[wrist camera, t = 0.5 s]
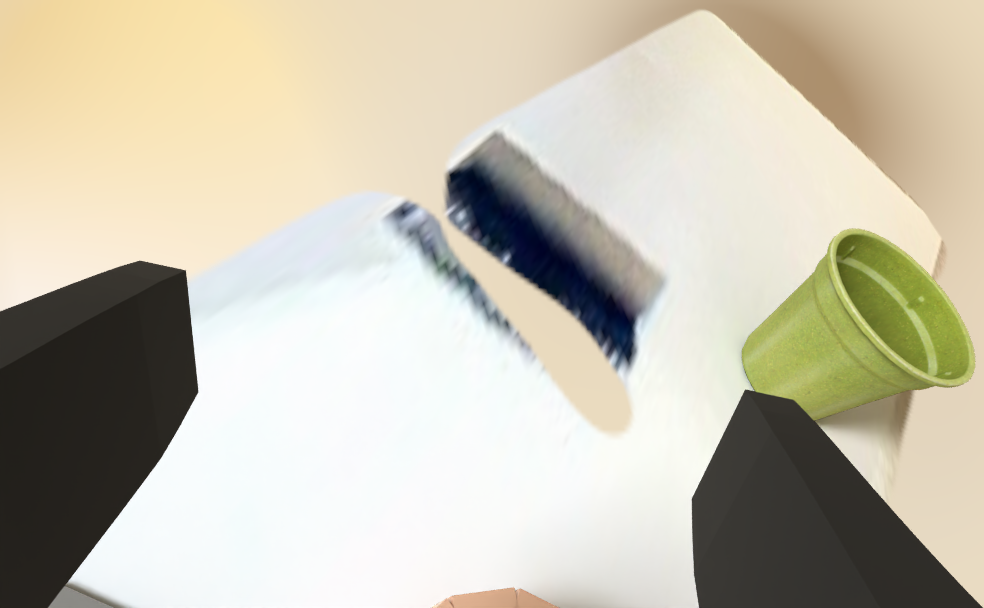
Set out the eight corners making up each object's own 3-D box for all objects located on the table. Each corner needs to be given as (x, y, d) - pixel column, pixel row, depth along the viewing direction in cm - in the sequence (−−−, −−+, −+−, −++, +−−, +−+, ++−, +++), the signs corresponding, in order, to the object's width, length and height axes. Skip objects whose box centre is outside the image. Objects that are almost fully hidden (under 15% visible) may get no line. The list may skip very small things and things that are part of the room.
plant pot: (802, 317, 45) (916, 239, 39) (866, 451, 40) (1007, 387, 34) (696, 305, 41) (804, 216, 35) (753, 452, 36) (890, 380, 30)
